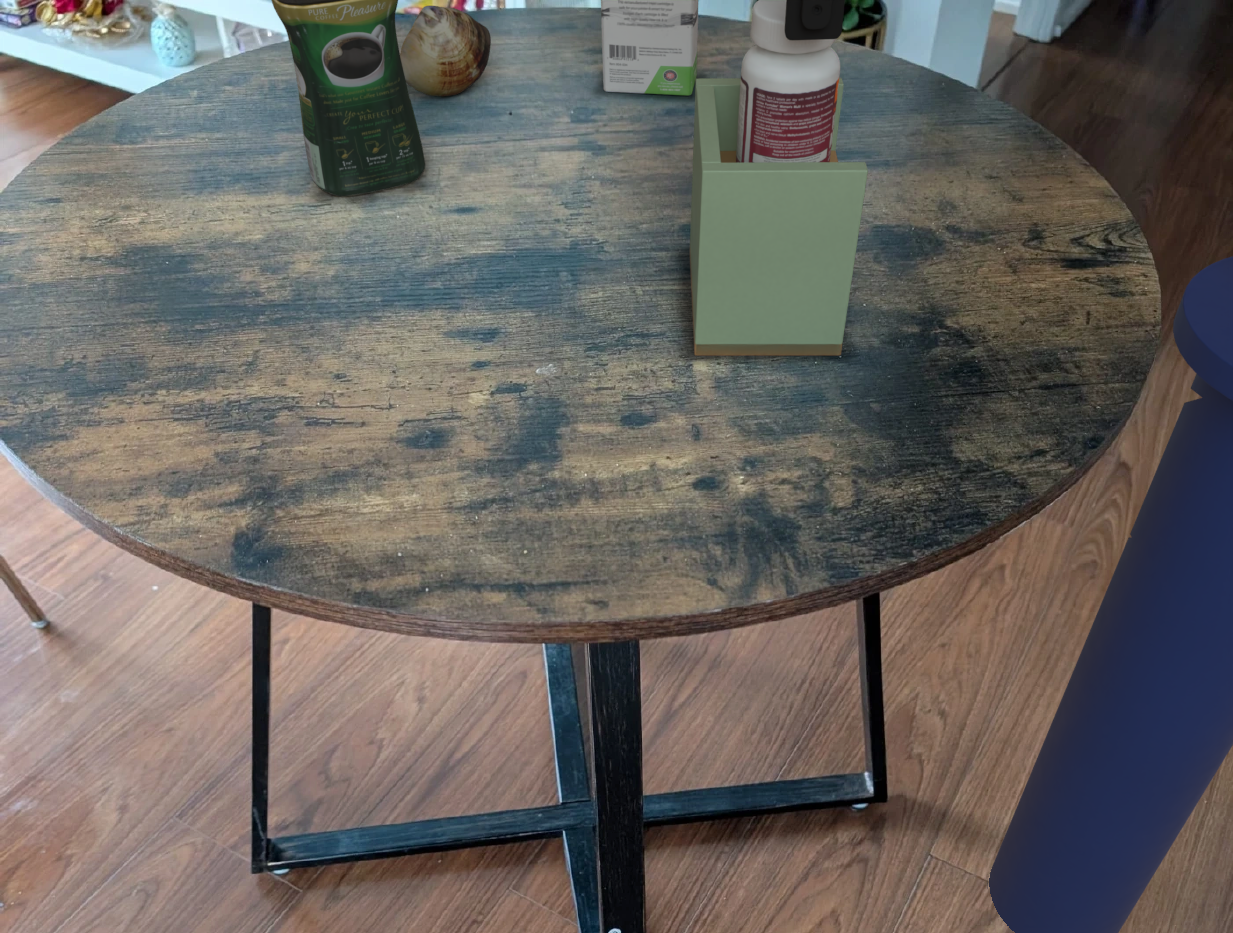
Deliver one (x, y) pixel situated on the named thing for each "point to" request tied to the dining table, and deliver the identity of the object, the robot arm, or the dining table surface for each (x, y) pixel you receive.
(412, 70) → the seashell
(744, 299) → the green pencil holder
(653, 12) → the ink box
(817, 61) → the pill bottle
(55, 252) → the dining table surface
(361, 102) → the coffee jar
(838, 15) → the robot arm
